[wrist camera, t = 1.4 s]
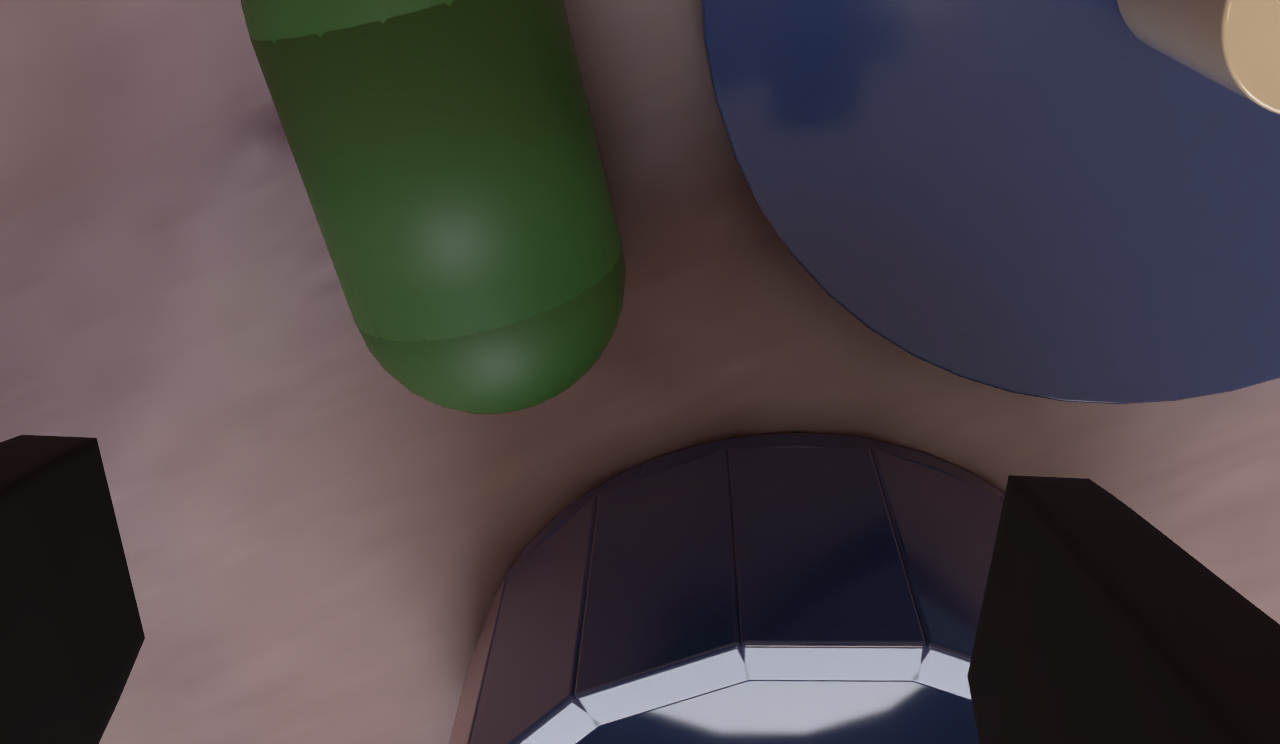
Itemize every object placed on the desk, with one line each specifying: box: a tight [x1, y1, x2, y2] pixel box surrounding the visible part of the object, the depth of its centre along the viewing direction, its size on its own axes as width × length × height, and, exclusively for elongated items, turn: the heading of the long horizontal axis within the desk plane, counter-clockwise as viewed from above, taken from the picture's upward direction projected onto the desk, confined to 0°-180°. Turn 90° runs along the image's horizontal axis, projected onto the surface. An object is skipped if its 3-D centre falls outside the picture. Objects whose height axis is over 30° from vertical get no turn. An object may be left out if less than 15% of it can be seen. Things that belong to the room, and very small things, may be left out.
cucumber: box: [241, 0, 625, 414], centre depth 15 cm, size 8×4×4 cm, turn 12°
